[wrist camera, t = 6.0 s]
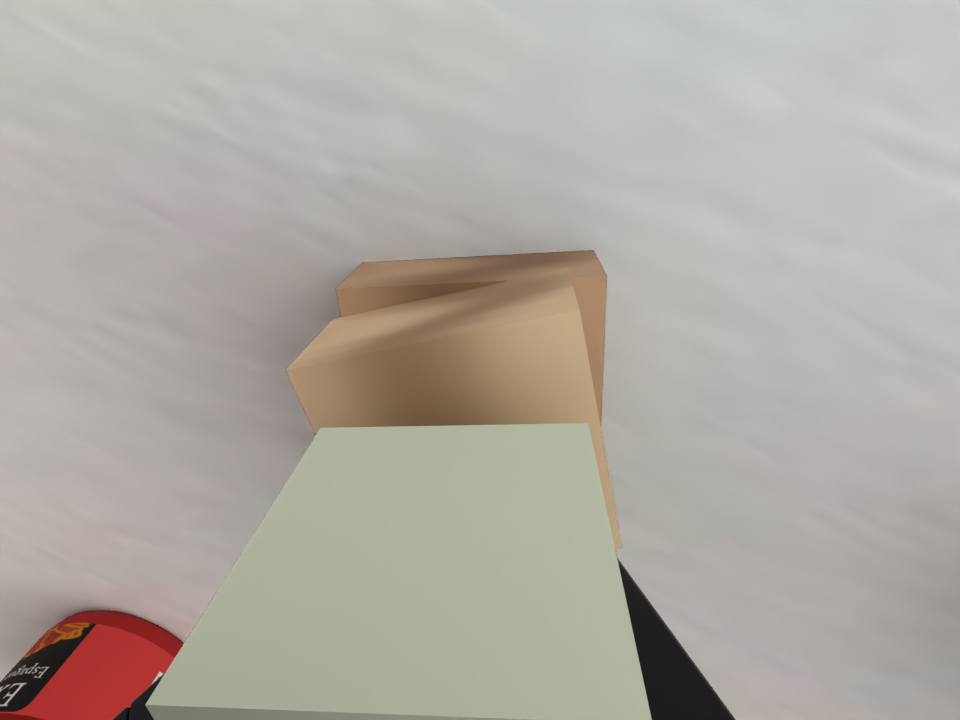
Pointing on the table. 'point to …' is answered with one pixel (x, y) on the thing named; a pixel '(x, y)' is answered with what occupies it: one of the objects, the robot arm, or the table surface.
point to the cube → (421, 588)
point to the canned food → (87, 668)
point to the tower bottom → (449, 275)
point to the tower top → (458, 364)
